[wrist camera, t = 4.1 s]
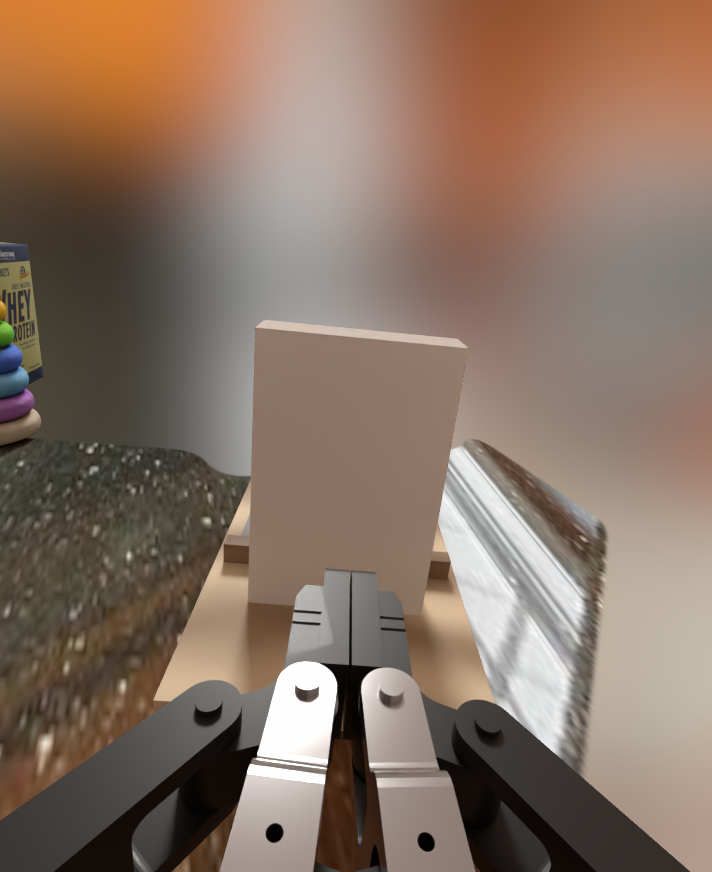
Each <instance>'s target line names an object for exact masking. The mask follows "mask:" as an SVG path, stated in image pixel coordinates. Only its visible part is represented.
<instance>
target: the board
mask: <svg viewBox="0 0 712 872" xmlns="http://www.w3.org/2000/svg"><path fill="white" fill-rule="evenodd" d="M250 500H251V480H250V483H249V485H248V487H247V490H246V492H245V494H244V496H243V499H242V501H241V503H240V505H239V508H238V510H237V512H236V514H235V517H234V519H233V521H232V523H231V526H230V528H229V530H228V532H227V535H226V537H225V539H224V541H223V544H222V546H221V548H220V550H219V553H218V555H217V557H216V560H215V562H214V564H213V566H212V569H211V571H210V573H209V575H208V578H207V580H206V582H205V584H204V587H203V589H202V591H201V593H200V596H199V598H198V600H197V602H196V605H195V607H194V609H193V611H192V614H191V616H190V618H189V620H188V623H187V625H186V627H185V630H184V632H183V634H182V636H181V639H180V641H179V643H178V645H177V648H176V650H175V652H174V654H173V657H172V659H171V661H170V663H169V666H168V668H167V670H166V672H165V675H164V677H163V679H162V681H161V684H160V686H159V688H158V690H157V693H156V695H155V697H154V700H153V707H154V713H155V712H156V711H157V710H159V709H160V708H162V707H163V706H165V705H166V704H167V703H169V702H170V701H172V700H173V699H175V698H176V697H177V696H179V695H180V694H182V693H183V692H185V691H186V690H187V689H189V688H190V687H192V686H194V685H196V684H198V683H200V682H204V681H208V680H222V681H225V682H228V683H230V684H232V685H233V686H235V687H236V688H237V689H238V691H239V692H240V694H244V693H248V692H253V691H257V690H260V689H263V688H265V687H267V686H269V685H271V684H272V683H273V682H275V681H276V680H277V679H278V678H279V676H280V675H281V673H282V672H283V670H284V667H285V662H286V656H287V650H288V643H289V637H290V631H291V625H292V619H293V613H294V607H295V606H289V605H276V604H262V603H249V602H248V572H249V536H250ZM404 621H405V628H406V636H407V643H408V650H409V657H410V664H411V672H412V677H413V679H414V681H415V682H416V683H417V685H418V687H419V689H420V691H421V692H422V693H423V694H425V695H426V696H427V697H428V698H430V699H432V700H433V701H435V702H437V703H440V704H442V705H445V706H448V707H451V708H453V709H456V710H458V708H459V707H460V706H461V705H462V704H463V703H465V702H467V701H470V700H475V699H476V700H486V701H489V702H492V703H494V700H493V697H492V694H491V690H490V687H489V684H488V681H487V678H486V675H485V671H484V668H483V665H482V662H481V659H480V655H479V652H478V649H477V646H476V643H475V640H474V636H473V633H472V630H471V627H470V624H469V620H468V617H467V614H466V611H465V608H464V605H463V601H462V598H461V595H460V592H459V589H458V586H457V582H456V579H455V576H454V573H453V570H452V566H451V561H450V558H449V555H448V552H447V551H446V547H445V544H444V541H443V538H442V535H441V531H440V528H439V525H438V523H437V529H436V535H435V540H434V546H433V551H432V557H431V563H430V568H429V574H428V580H427V585H426V591H425V597H424V602H423V608H422V613H421V615H408V614H404ZM494 704H495V703H494ZM341 731H343V718H342V726H341Z"/></svg>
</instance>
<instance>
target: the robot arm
mask: <svg viewBox="0 0 712 872" xmlns="http://www.w3.org/2000/svg"><path fill="white" fill-rule="evenodd" d="M342 718H343V739H349V740H352V759H351V767H350V782H351V797H352V811H353V826H354V840H355V855H356V871H355V872H475V868H474V864H475V865H476V867H477V868H478V869H479V870H480V871H481V872H690V871H689V870H688V869H686V868H685V867H684V866H683V865H682V864H681V863H680V862H678V861H677V860H676V859H675V858H674V857H673V856H672V855H670V854H669V853H668V852H667V851H666V850H665V849H664V848H662V847H661V846H660V845H659V844H658V843H657V842H655V841H654V840H653V839H652V838H651V837H649V835H647V834H646V833H645V832H644V831H643V830H642V829H641V828H639V827H638V826H637V825H636V824H635V823H634V822H633V821H631V820H630V819H629V818H628V817H627V816H625V814H623V813H622V812H621V811H620V810H619V809H618V808H616V807H615V806H614V805H613V804H612V803H611V802H610V801H608V800H607V799H606V798H605V797H604V796H603V795H602V794H600V793H599V792H598V791H597V790H596V789H595V788H594V787H592V786H591V785H590V784H589V783H588V782H587V781H586V780H584V779H583V778H582V777H581V776H580V775H579V774H577V773H576V772H575V771H574V770H573V769H572V768H571V767H569V766H568V765H567V764H566V763H565V762H564V761H563V760H561V759H560V758H559V757H558V756H557V755H556V754H555V753H553V752H552V751H551V750H550V749H549V748H548V747H547V746H545V745H544V744H543V743H542V742H541V741H540V740H538V739H537V738H536V737H535V736H534V735H533V734H532V733H530V732H529V731H528V730H527V729H526V728H525V727H524V726H522V725H521V724H520V723H519V722H518V721H517V720H516V719H514V718H513V717H512V716H511V715H510V714H509V713H508V712H506V711H505V710H504V709H503V708H501V707H500V706H498V705H496V704H494V703H492V702H489V701H486V700H476V699H475V700H470V701H467V702H465V703H463V704H462V705H461V706H460V707H459V708H458V710H456V709H453V708H451V707H448V706H445V705H442V704H440V703H437V702H435V701H433V700H432V699H430V698H428V697H427V696H426V695H425V694H423V693H422V692H421V691H420V689H419V687H418V685H417V683H416V682H415V681H414V679H413V677H412V672H411V664H410V657H409V650H408V643H407V636H406V628H405V621H404V614H403V607H402V603H401V602H400V600H399V599H398V597H397V596H396V595H395V593H394V592H393V591H381V590H378V586H377V574H376V572H367V571H354V570H352V571H351V578H350V570H341V569H328V568H325V578H324V586H316V585H305V586H304V587H303V588H302V590H301V591H300V592H299V593H298V595H297V596H296V601H295V607H294V613H293V619H292V625H291V631H290V637H289V643H288V650H287V656H286V662H285V667H284V670H283V672H282V673H281V675H280V676H279V678H278V679H277V680H276V681H275V682H273V683H272V684H271V685H269V686H267V687H265V688H263V689H260V690H257V691H253V692H248V693H244V694H240V692H239V691H238V689H237V688H236V687H235V686H233V685H232V684H230V683H228V682H225V681H222V680H208V681H204V682H200V683H198V684H196V685H194V686H192V687H190V688H189V689H187V690H186V691H185V692H183V693H182V694H180V695H179V696H177V697H176V698H175V699H173V700H172V701H170V702H169V703H167V704H166V705H165V706H163V707H162V708H160V709H159V710H157V711H156V712H155V713H153V714H152V715H150V716H149V717H147V718H146V719H145V720H143V721H142V722H140V723H139V724H138V725H136V726H135V727H133V728H132V729H130V730H129V731H128V732H126V733H125V734H123V735H122V736H120V737H119V738H118V739H116V740H115V741H113V742H112V743H110V744H109V745H108V746H106V747H105V748H103V749H102V750H100V751H99V752H98V753H96V754H95V755H93V756H92V757H90V758H89V759H88V760H86V761H85V762H83V763H82V764H80V765H79V766H78V767H76V768H75V769H73V770H72V771H70V772H69V773H68V774H66V775H65V776H63V777H62V778H60V779H59V780H58V781H56V782H55V783H53V784H52V785H51V786H49V787H48V788H46V789H45V790H43V791H42V792H41V793H39V794H38V795H36V796H35V797H33V798H32V799H31V800H29V801H28V802H26V803H25V804H23V805H22V806H21V807H19V808H18V809H16V810H15V811H13V812H12V813H11V814H9V815H8V816H6V817H5V818H3V819H2V820H1V821H0V872H172V871H173V870H174V869H175V868H176V867H177V866H178V865H179V864H180V863H181V862H182V861H183V860H184V859H185V858H186V857H187V856H188V855H189V854H190V853H191V852H192V851H193V850H194V849H195V848H196V847H197V846H198V845H199V844H200V843H201V842H202V841H203V840H204V839H205V838H206V837H207V836H208V835H209V834H210V833H211V832H212V831H213V830H214V829H215V828H216V827H217V826H218V825H219V824H220V823H221V822H222V821H223V820H224V819H225V818H226V817H227V816H228V815H229V814H230V813H231V812H232V811H233V809H234V808H235V806H236V804H237V802H239V804H238V808H237V811H236V815H235V819H234V822H233V826H232V829H231V833H230V836H229V840H228V843H227V847H226V851H225V854H224V858H223V861H222V865H221V868H220V872H340V871H337V870H335V869H332V868H329V867H327V866H324V865H321V864H319V863H316V861H317V853H318V845H319V837H320V829H321V821H322V813H323V805H324V797H325V789H326V781H327V773H328V768H329V766H330V764H331V760H332V754H333V745H334V739H340V734H341V726H342ZM473 863H474V864H473Z"/></svg>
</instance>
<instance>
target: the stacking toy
mask: <svg viewBox="0 0 712 872" xmlns="http://www.w3.org/2000/svg"><path fill="white" fill-rule="evenodd" d="M6 313H7V310H6V306H5V305H4V303H3V302H2V301H0V446H1V445H6V444H10V443H14V442H17V441H20V440H22V439H25V438H27V437H29V436H31V435H32V434H34V433H35V432H36V431H37V430H38V429H39V427H40V424H41V419H40V416H39V414H38V413H37V412H36V411H35V410H34V409H32V408H33V406H34V397H33V395H32V394H31V393H30V391H28V390H27V389H25V388H26V387H27V385H28V383H29V376H28V374H27V372H26V371H25V370H24V369H23V368H22V367H20V365H21V363H22V361H23V355H22V353H21V351H20V349H19V348H18V347H16V346H15V345H13V344H11V342H12V341H13V339H14V330H13V328H12V327H11V326H10V325H9V324H8V323H6V322H4V321H2V320H3V319H4V318H5V316H6Z"/></svg>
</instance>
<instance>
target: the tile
mask: <svg viewBox="0 0 712 872" xmlns="http://www.w3.org/2000/svg"><path fill="white" fill-rule="evenodd" d="M467 354H468V347H466V346H465V345H464V344H463V343H461V342H460V341H459V340H458V339H452V338H443V337H433V336H422V335H412V334H401V333H392V332H382V331H372V330H362V329H351V328H341V327H331V326H321V325H311V324H300V323H291V322H281V321H270V320H264V321H263V322H262V323H260V324H259V325H258V326H256V327H255V356H254V391H253V428H252V429H253V430H252V464H251V465H252V467H251V500H250V536H249V572H248V602H249V603H262V604H276V605H289V606H295V601H296V596H297V595H298V593H299V592H300V591H301V590H302V588H303V587H304V586H305V585H316V586H324V578H325V568H328V569H341V570H350V578H351V571H352V570H354V571H367V572H376V574H377V586H378V590H381V591H393V592H394V593H395V595H396V596H397V597H398V599H399V600H400V602H401V603H402V607H403V614H408V615H421V613H422V608H423V602H424V597H425V591H426V585H427V580H428V574H429V568H430V563H431V557H432V551H433V546H434V540H435V535H436V529H437V523H438V518H439V512H440V506H441V501H442V495H443V489H444V484H445V478H446V473H447V467H448V461H449V456H450V450H451V444H452V439H453V433H454V428H455V422H456V416H457V411H458V405H459V399H460V394H461V388H462V382H463V377H464V371H465V366H466V360H467Z"/></svg>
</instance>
